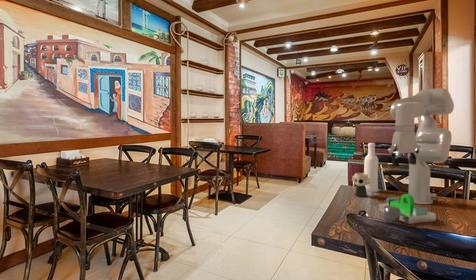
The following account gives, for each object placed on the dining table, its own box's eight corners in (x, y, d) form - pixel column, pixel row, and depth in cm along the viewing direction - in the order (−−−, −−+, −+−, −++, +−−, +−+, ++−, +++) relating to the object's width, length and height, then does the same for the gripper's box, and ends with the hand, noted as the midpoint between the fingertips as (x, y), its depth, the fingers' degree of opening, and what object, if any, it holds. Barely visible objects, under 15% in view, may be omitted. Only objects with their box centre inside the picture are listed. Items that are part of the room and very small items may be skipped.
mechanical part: (421, 212, 120) (422, 195, 119) (410, 213, 119) (410, 196, 118) (400, 204, 131) (401, 188, 131) (390, 205, 130) (390, 189, 130)
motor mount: (402, 207, 136) (402, 196, 135) (435, 220, 118) (436, 207, 118) (364, 211, 131) (364, 199, 131) (392, 225, 113) (393, 211, 113)
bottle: (360, 189, 171) (361, 143, 168) (370, 188, 173) (371, 142, 171) (371, 193, 163) (372, 144, 161) (380, 191, 166) (381, 143, 164)
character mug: (348, 194, 160) (349, 173, 159) (355, 192, 164) (356, 171, 163) (366, 199, 151) (366, 176, 150) (373, 196, 155) (373, 174, 154)
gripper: (412, 127, 131) (412, 162, 133) (382, 129, 127) (382, 165, 129) (427, 128, 124) (426, 164, 126) (395, 130, 120) (395, 168, 122)
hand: (404, 165), depth 127 cm, fingers open, 9 cm apart
